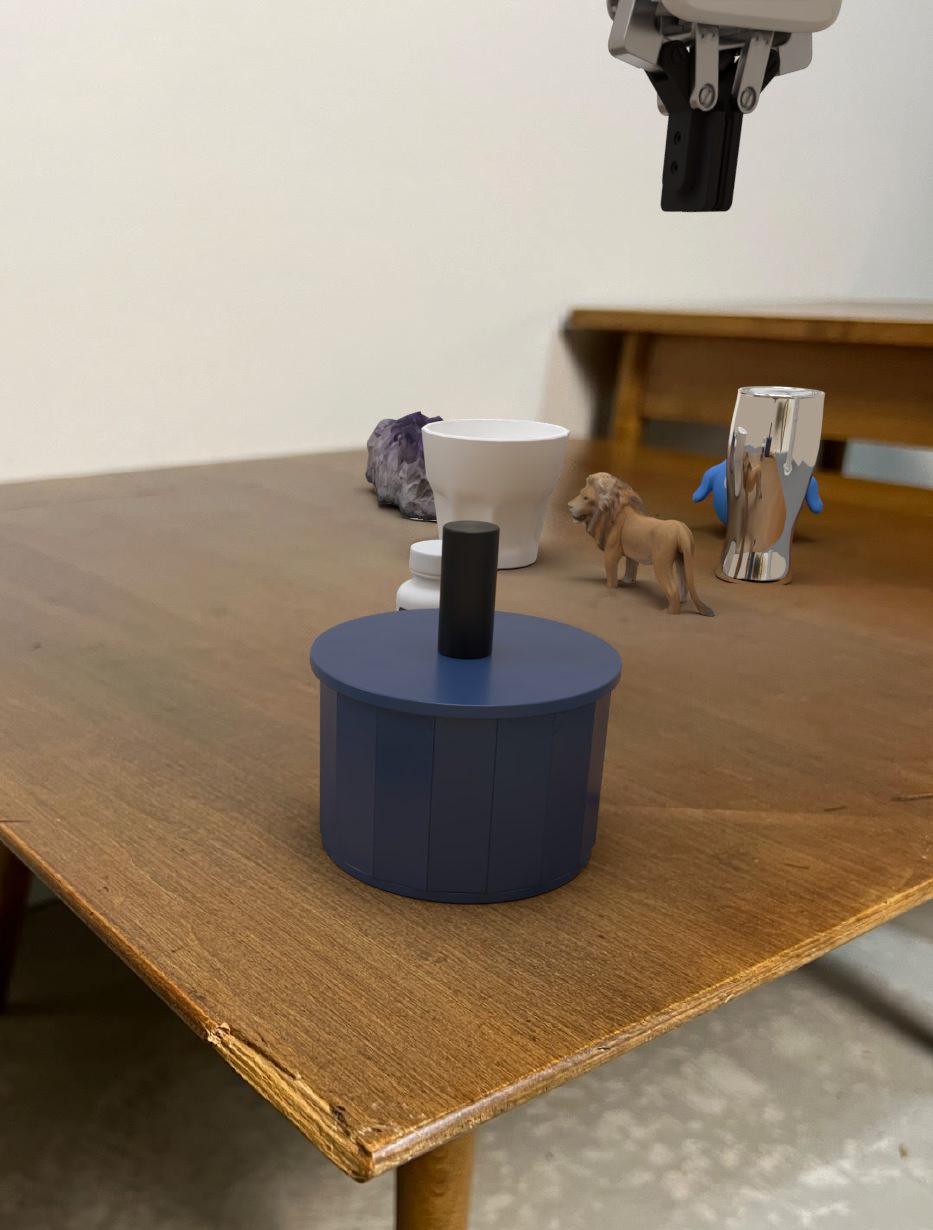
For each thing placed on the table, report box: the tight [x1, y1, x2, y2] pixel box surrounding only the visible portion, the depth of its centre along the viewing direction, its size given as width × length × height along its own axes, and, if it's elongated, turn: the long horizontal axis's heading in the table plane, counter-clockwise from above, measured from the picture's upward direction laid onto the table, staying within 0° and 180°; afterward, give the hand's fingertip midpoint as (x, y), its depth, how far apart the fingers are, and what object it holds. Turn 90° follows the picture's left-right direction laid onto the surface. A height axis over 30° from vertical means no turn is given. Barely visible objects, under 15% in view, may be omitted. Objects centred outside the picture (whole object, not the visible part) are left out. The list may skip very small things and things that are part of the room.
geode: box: [364, 410, 445, 521], centre depth 127 cm, size 20×12×10 cm, turn 7°
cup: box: [422, 418, 571, 570], centre depth 105 cm, size 12×12×11 cm
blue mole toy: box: [692, 459, 824, 527], centre depth 114 cm, size 12×12×8 cm
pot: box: [319, 680, 612, 904], centre depth 55 cm, size 13×13×8 cm
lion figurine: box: [567, 472, 715, 617], centre depth 93 cm, size 15×5×9 cm, turn 33°
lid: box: [309, 520, 623, 719], centre depth 52 cm, size 14×14×7 cm
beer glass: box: [715, 385, 826, 586], centre depth 99 cm, size 7×7×15 cm
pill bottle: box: [395, 539, 442, 611], centre depth 71 cm, size 5×5×10 cm
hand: (694, 210), depth 57 cm, fingers closed
